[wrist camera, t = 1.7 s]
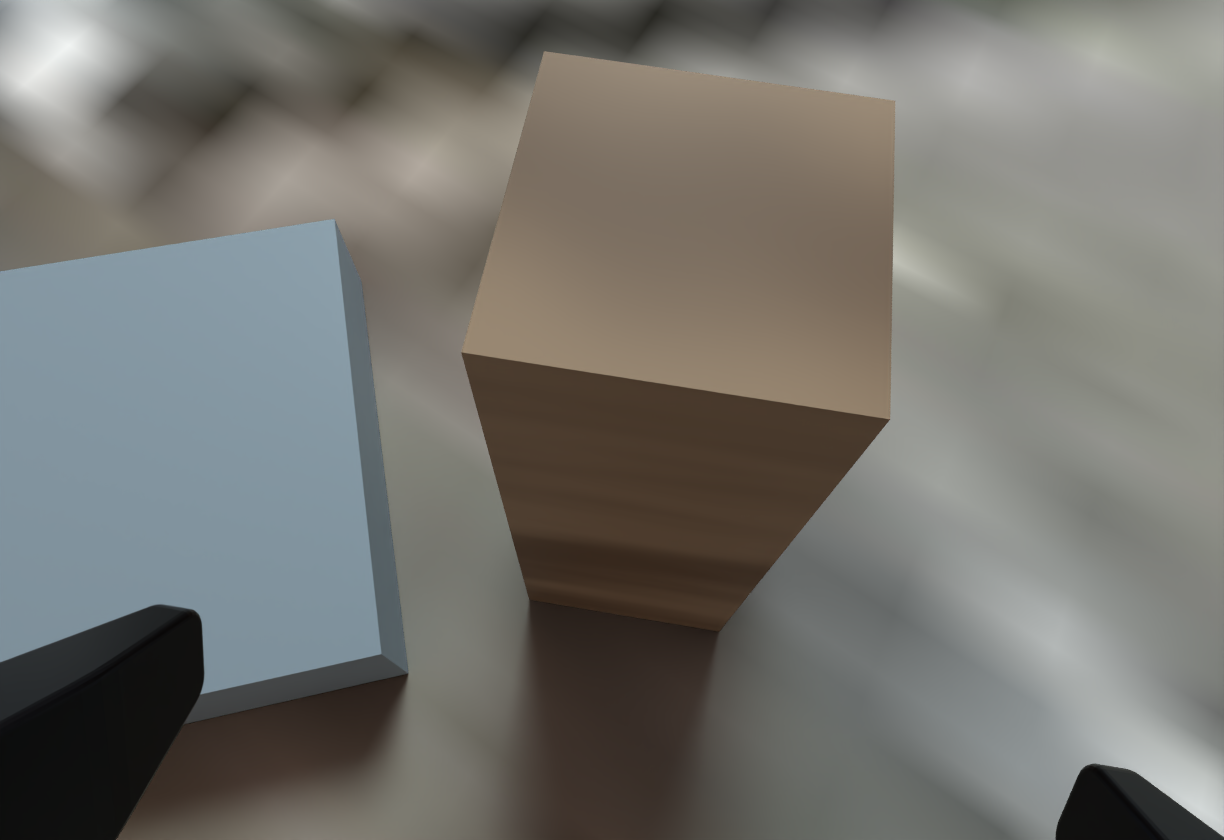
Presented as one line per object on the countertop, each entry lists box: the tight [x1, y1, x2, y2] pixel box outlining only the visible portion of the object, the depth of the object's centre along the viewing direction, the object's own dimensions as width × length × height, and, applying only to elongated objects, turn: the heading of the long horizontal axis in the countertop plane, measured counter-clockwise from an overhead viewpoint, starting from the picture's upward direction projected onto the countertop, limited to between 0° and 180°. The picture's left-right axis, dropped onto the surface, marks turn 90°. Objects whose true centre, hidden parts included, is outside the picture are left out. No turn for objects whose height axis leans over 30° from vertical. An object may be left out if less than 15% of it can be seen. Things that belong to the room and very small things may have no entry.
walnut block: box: [461, 51, 895, 632], centre depth 16 cm, size 5×5×13 cm
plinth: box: [0, 219, 408, 724], centre depth 21 cm, size 12×12×3 cm
